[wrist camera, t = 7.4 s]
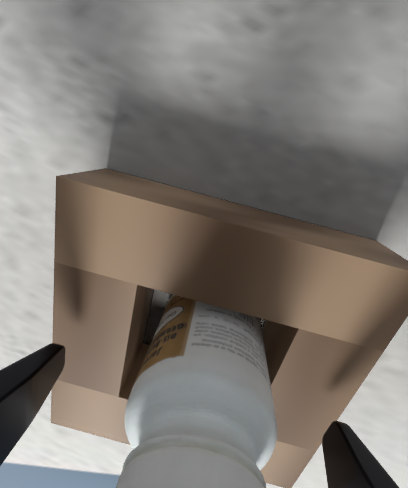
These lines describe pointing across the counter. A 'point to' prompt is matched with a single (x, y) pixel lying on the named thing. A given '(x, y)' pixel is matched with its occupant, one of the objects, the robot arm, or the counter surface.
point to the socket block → (215, 301)
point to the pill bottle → (201, 403)
